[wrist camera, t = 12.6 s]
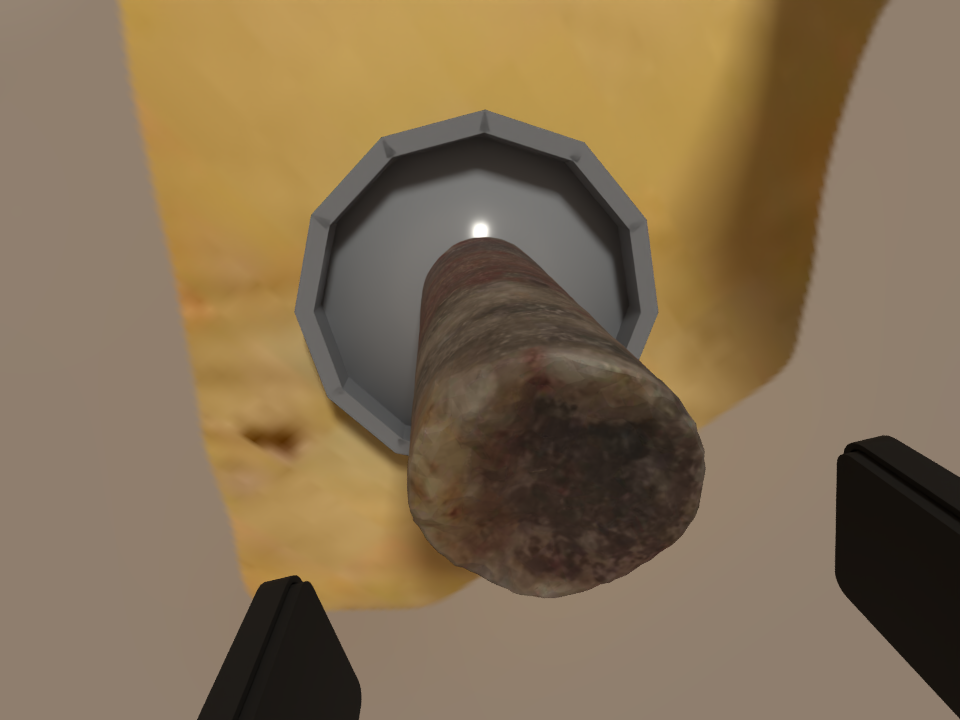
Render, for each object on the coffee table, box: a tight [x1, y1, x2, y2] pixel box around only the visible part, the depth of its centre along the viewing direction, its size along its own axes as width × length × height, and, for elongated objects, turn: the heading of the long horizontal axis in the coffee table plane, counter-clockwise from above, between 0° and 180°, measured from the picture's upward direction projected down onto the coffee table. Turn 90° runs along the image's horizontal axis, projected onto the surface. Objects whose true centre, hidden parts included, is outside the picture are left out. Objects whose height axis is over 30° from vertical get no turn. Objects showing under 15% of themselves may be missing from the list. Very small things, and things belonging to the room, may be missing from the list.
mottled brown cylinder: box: [407, 237, 705, 598], centre depth 21 cm, size 8×7×20 cm
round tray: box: [294, 110, 658, 456], centre depth 30 cm, size 20×20×3 cm
